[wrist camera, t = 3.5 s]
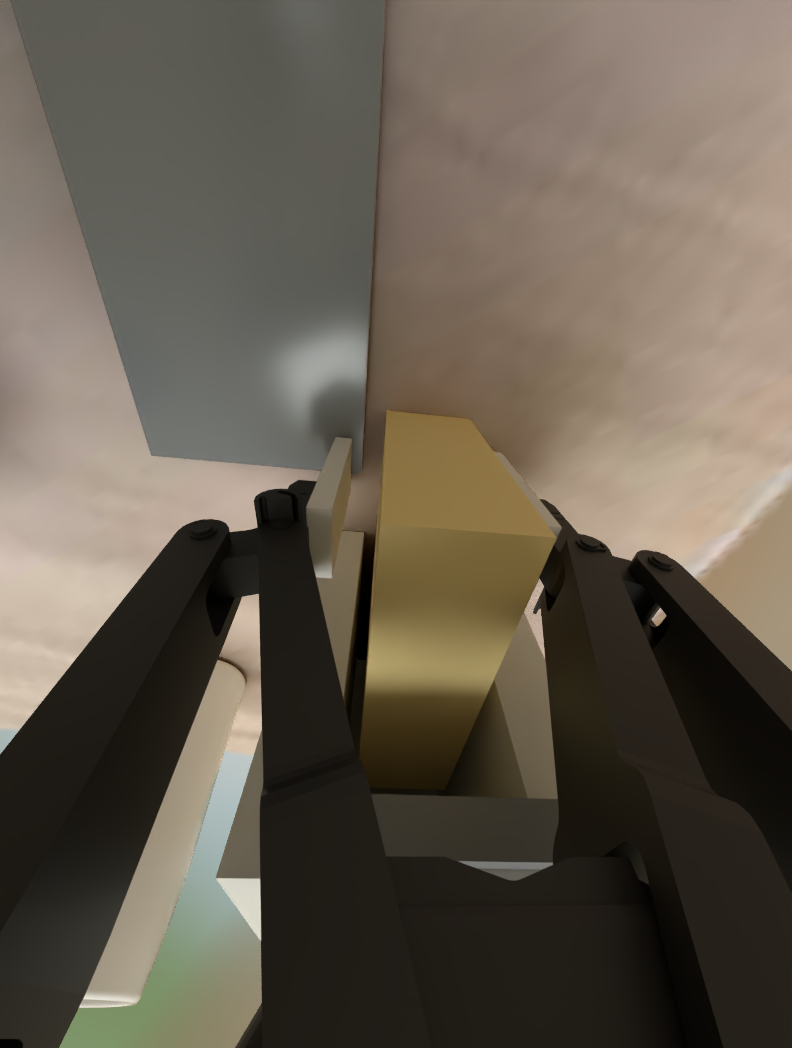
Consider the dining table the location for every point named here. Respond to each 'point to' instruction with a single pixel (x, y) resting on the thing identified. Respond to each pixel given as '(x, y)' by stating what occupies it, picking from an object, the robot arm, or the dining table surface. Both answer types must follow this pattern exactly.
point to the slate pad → (225, 208)
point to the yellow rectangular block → (441, 595)
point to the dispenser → (474, 787)
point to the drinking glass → (167, 849)
